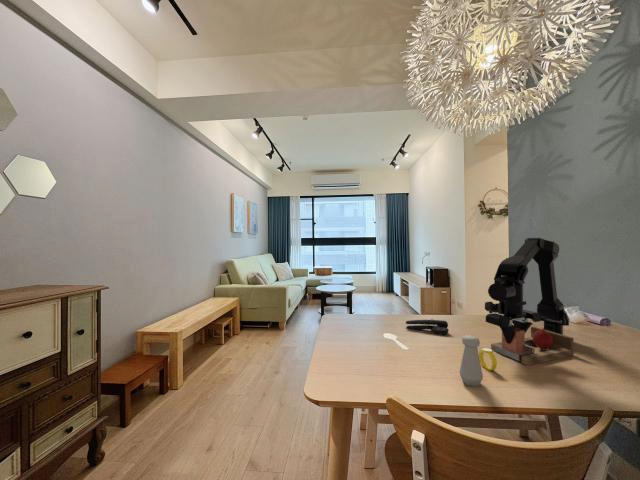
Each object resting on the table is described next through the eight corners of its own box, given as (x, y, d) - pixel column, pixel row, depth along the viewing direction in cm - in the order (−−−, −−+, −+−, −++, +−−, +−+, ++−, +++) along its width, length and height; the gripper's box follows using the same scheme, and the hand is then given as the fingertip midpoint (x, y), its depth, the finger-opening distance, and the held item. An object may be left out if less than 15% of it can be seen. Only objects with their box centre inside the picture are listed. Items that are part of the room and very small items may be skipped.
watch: (477, 365, 88) (475, 346, 88) (484, 364, 88) (483, 346, 89) (491, 373, 82) (490, 352, 82) (499, 372, 82) (498, 352, 83)
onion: (557, 353, 95) (557, 331, 95) (538, 352, 96) (538, 330, 96) (547, 347, 101) (546, 325, 101) (529, 346, 102) (529, 324, 102)
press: (510, 348, 99) (510, 323, 99) (534, 358, 91) (534, 331, 91) (495, 351, 97) (495, 326, 97) (519, 361, 89) (518, 333, 89)
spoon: (400, 351, 99) (400, 350, 99) (380, 334, 117) (380, 333, 117) (413, 350, 100) (413, 348, 100) (391, 333, 118) (391, 332, 118)
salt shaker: (455, 377, 80) (454, 333, 80) (473, 376, 80) (473, 332, 80) (467, 388, 74) (467, 340, 74) (487, 387, 74) (487, 340, 74)
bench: (533, 341, 106) (533, 326, 106) (573, 355, 94) (573, 337, 94) (491, 349, 100) (490, 332, 100) (527, 364, 87) (527, 346, 87)
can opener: (448, 331, 120) (448, 318, 120) (448, 336, 113) (448, 323, 113) (406, 326, 127) (406, 314, 127) (404, 330, 121) (404, 318, 121)
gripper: (510, 291, 105) (510, 332, 105) (472, 294, 99) (472, 337, 99) (541, 297, 94) (541, 342, 94) (501, 301, 88) (501, 349, 88)
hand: (513, 342), depth 94 cm, fingers closed on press, 4 cm apart
